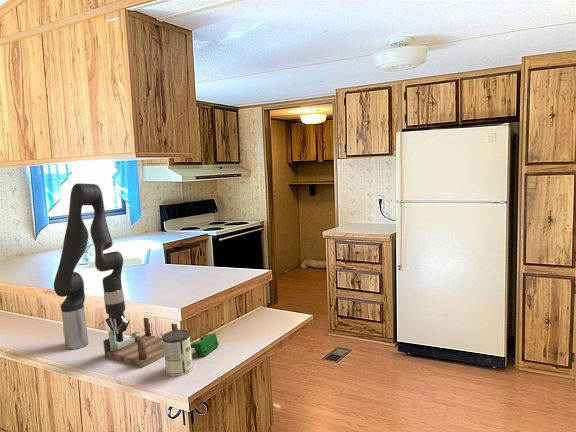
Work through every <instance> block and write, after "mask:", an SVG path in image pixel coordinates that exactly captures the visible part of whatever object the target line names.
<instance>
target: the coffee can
mask: <svg viewBox="0 0 576 432" xmlns="http://www.w3.org/2000/svg"><path fill="white" fill-rule="evenodd" d="M161 336H162V340H163V348H164V357H163V358H164V364H165V374H167V375H168V376H171V377H179V375H180V376H183V375H186V373H187V374H189V373H190V372H192V371H193V369H194V364H193V362H194V361H193V356H192V355H193V353H192V348H191V344H192V342H191V331H189V330H187V329H179V330H174V331H172V330H171V331H168V332H166V333H164V334H162V335H161ZM188 372H189V373H188Z"/></svg>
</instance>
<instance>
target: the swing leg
mask: <svg viewBox="0 0 576 432" xmlns="http://www.w3.org/2000/svg"><path fill="white" fill-rule="evenodd" d="M140 337H141V336H140V332H139V331H135V332H132V333H131V336H130V337H128V338H125V339H123V341H122V342H117V341H116V335H115V333H114V331H111V330H109V331H108V338H109V341H110V349H111V351H117V350H118V349H120V348H122V347H124V346H127V345H129V344H131V343H133V342H136V341H137V339H139V338H140Z"/></svg>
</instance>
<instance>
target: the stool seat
mask: <svg viewBox="0 0 576 432" xmlns="http://www.w3.org/2000/svg"><path fill="white" fill-rule="evenodd" d="M173 323H174V322H173ZM173 323H171V331H174V330H178V328H177V324H173ZM143 328H144V334H143V335H142V336H139V337H140V338H139V339H137V341H136V342H133V343H131V344H129V345H127V346H124V347H122V348H120V349H118V350H117V351H111V349H110V341H109V337H108V338H106V339H104V340H103V342H102V343H103V350H104V356H105V358H109V359H113V360H116V361H118V362H119V361H120V362H123V363H126V364H130V365H133V366H136V367H140V368H145V367H147V366H148V365H151V364H153V363H155V362H157V361H159V360H160V359H162V358H165V357H164V348H163V340H162V338H159V337H155V336H151V333H150V324H149V319H148V318H145V317H143Z"/></svg>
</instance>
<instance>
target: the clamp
mask: <svg viewBox="0 0 576 432" xmlns="http://www.w3.org/2000/svg"><path fill="white" fill-rule="evenodd" d="M218 347H219V340H218V337H217V334H216V333H215V332H214V333H208V334H204V335H202V336H200V337H199V340H196V341H193V342H191V349H194V351H195V354H199V356H200V357H204V356H205V357H206V356H207V355H208V354H210V353H211V352H212V351H214V350H215V349H217V348H218Z"/></svg>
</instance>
